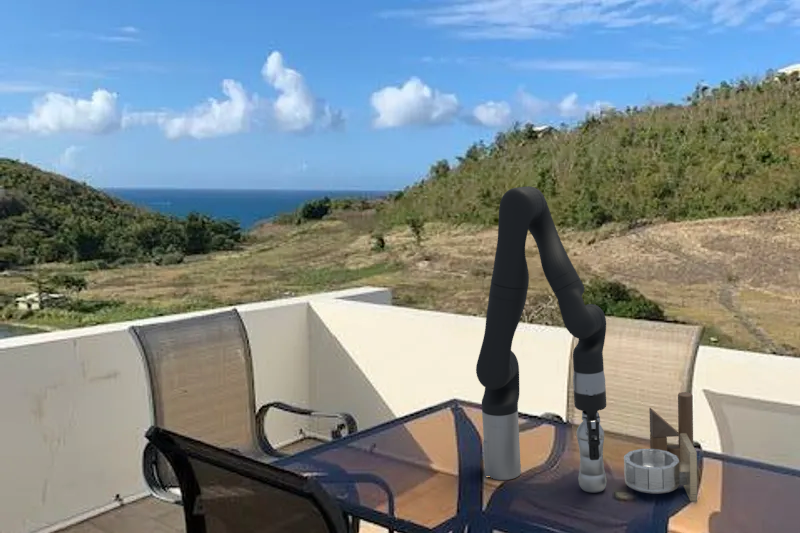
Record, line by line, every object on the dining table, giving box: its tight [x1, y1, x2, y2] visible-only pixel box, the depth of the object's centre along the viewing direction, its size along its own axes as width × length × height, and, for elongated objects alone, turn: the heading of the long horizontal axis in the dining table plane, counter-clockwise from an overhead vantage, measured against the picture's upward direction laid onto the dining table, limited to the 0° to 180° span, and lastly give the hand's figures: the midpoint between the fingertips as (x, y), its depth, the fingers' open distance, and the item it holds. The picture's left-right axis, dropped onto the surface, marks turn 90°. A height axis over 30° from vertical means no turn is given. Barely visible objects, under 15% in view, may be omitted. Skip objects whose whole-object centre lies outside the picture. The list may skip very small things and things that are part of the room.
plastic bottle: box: [575, 411, 607, 494], centre depth 193 cm, size 6×7×20 cm
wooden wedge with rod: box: [649, 391, 694, 463], centre depth 207 cm, size 4×11×18 cm, turn 87°
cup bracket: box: [623, 433, 698, 503], centre depth 191 cm, size 16×12×12 cm
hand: (592, 452), depth 193 cm, fingers open, 8 cm apart
